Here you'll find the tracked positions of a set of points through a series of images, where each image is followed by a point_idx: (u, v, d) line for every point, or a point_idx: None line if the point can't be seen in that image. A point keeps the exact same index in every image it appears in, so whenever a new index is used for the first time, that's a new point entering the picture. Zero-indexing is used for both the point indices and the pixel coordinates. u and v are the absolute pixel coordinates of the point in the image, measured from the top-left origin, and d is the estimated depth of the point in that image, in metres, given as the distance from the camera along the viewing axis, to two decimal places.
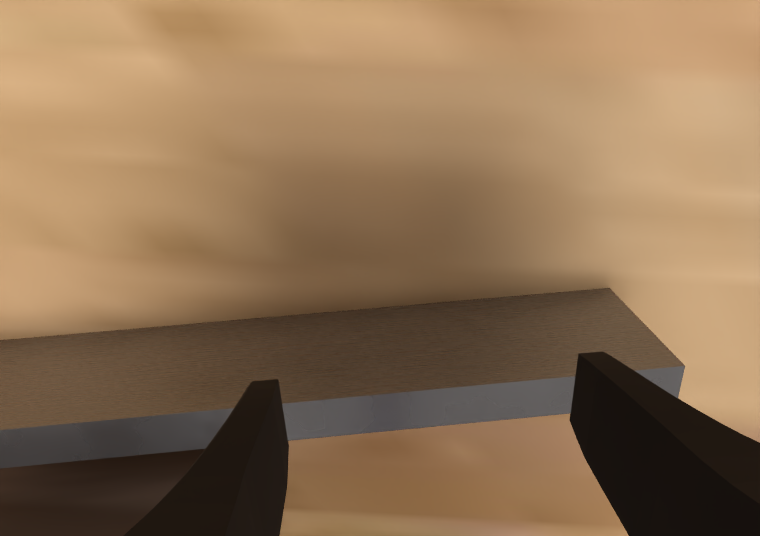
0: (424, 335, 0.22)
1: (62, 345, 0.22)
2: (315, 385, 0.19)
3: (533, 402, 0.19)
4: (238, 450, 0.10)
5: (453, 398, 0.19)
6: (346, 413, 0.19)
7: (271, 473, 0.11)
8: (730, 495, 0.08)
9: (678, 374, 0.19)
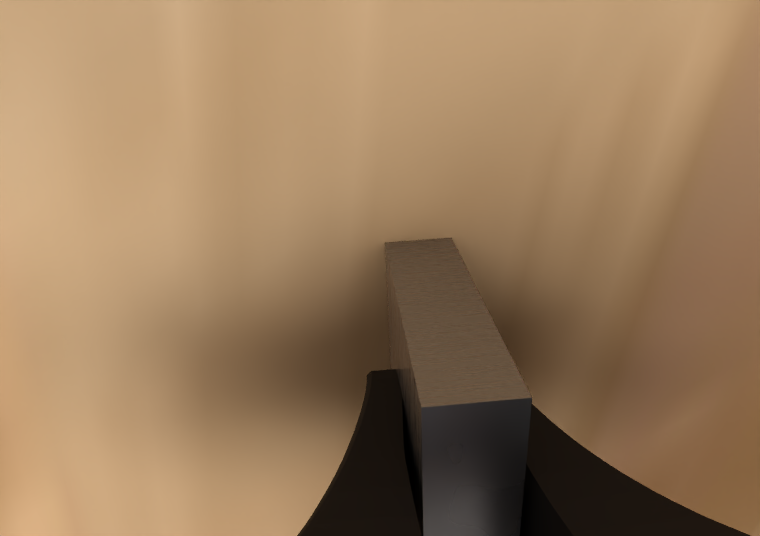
0: None
1: None
2: None
3: None
4: (389, 436, 0.10)
5: None
6: None
7: None
8: (549, 513, 0.08)
9: (445, 414, 0.08)
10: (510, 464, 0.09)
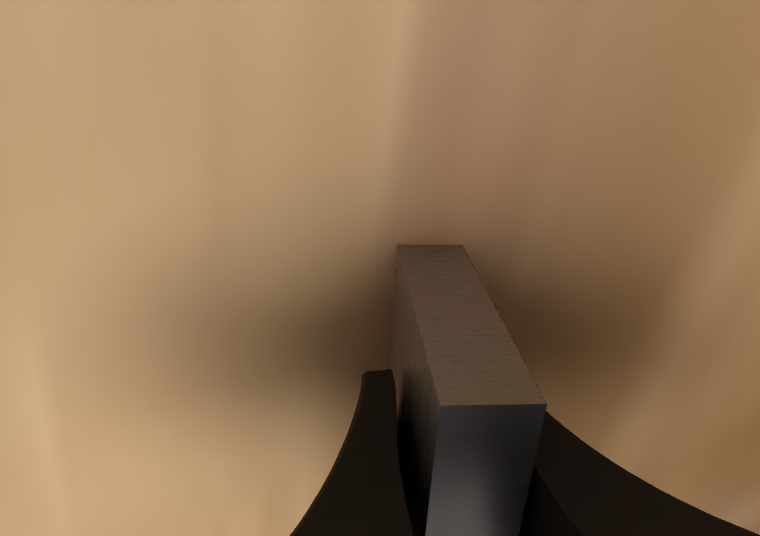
0: None
1: None
2: None
3: None
4: (383, 437, 0.10)
5: None
6: None
7: None
8: (557, 512, 0.08)
9: (462, 414, 0.08)
10: (518, 467, 0.09)
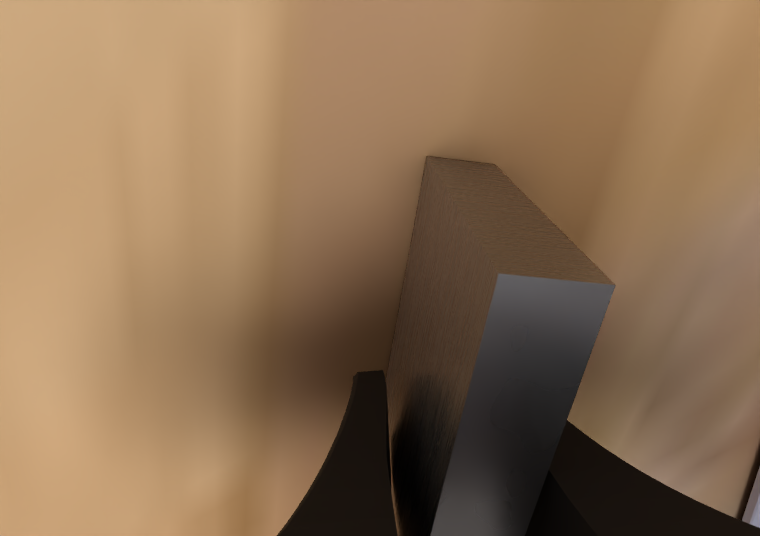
0: None
1: None
2: None
3: None
4: (372, 438, 0.10)
5: None
6: None
7: None
8: (569, 510, 0.08)
9: (521, 287, 0.07)
10: (570, 362, 0.08)
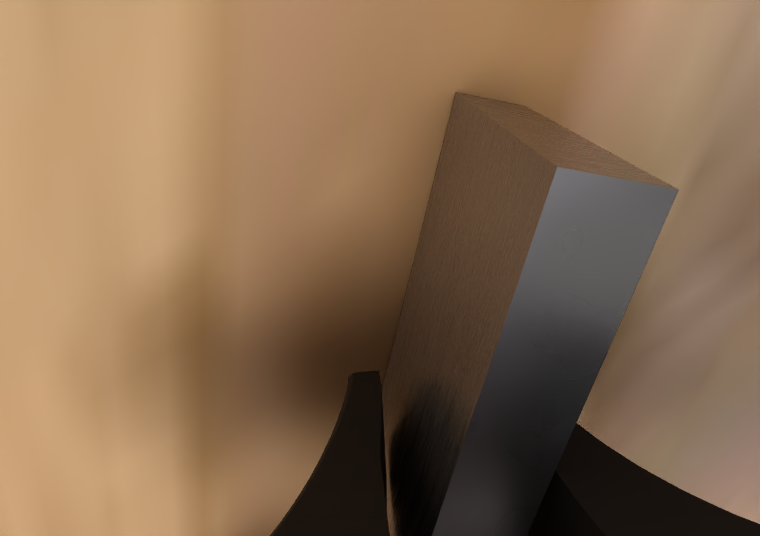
0: None
1: None
2: None
3: (505, 494, 0.09)
4: (366, 438, 0.10)
5: None
6: None
7: None
8: (576, 509, 0.08)
9: (579, 185, 0.07)
10: (622, 276, 0.07)
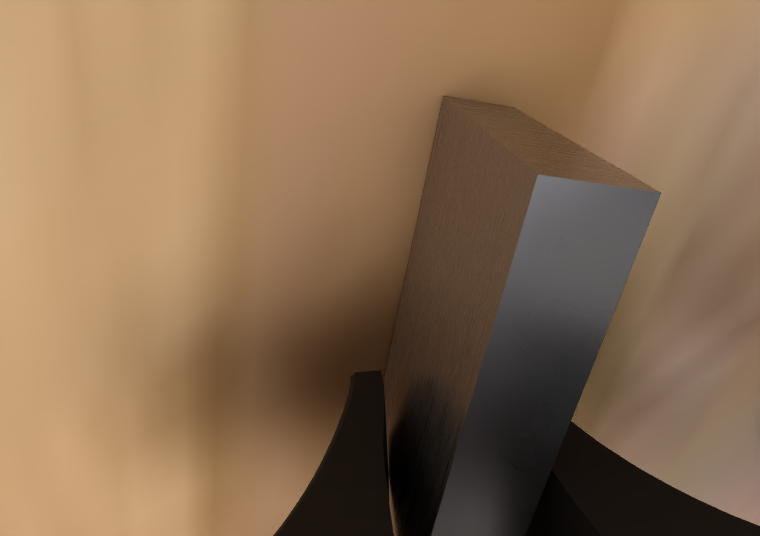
0: None
1: None
2: None
3: (501, 498, 0.09)
4: (369, 438, 0.10)
5: None
6: None
7: (386, 462, 0.11)
8: (573, 510, 0.08)
9: (560, 191, 0.07)
10: (608, 280, 0.07)
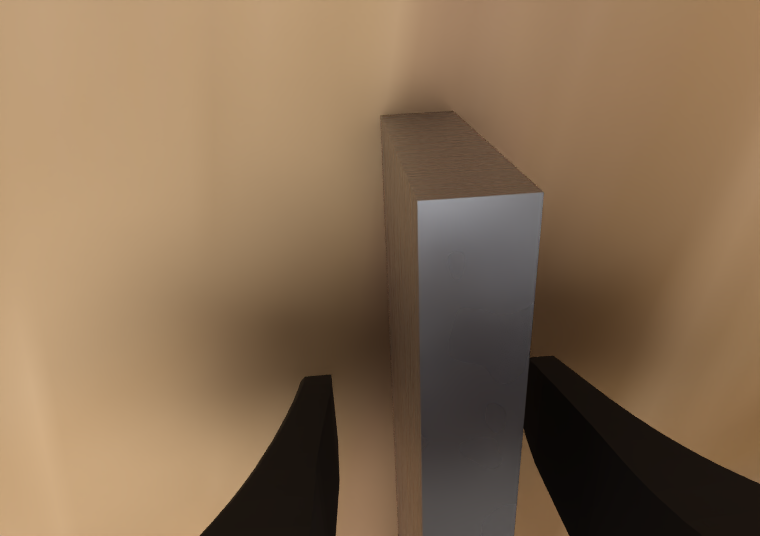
0: (403, 488, 0.14)
1: None
2: None
3: (479, 496, 0.09)
4: (305, 444, 0.10)
5: None
6: None
7: (330, 468, 0.11)
8: (651, 502, 0.08)
9: (444, 211, 0.07)
10: (518, 282, 0.08)
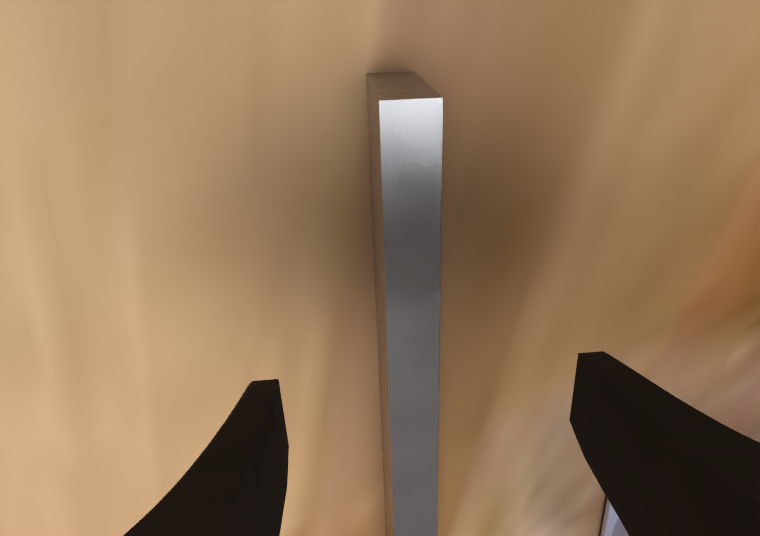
0: (380, 323, 0.21)
1: None
2: (390, 460, 0.20)
3: (418, 284, 0.16)
4: (238, 450, 0.10)
5: (402, 365, 0.17)
6: (410, 453, 0.19)
7: (271, 473, 0.11)
8: (730, 495, 0.08)
9: (392, 106, 0.14)
10: (432, 147, 0.14)
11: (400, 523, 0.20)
